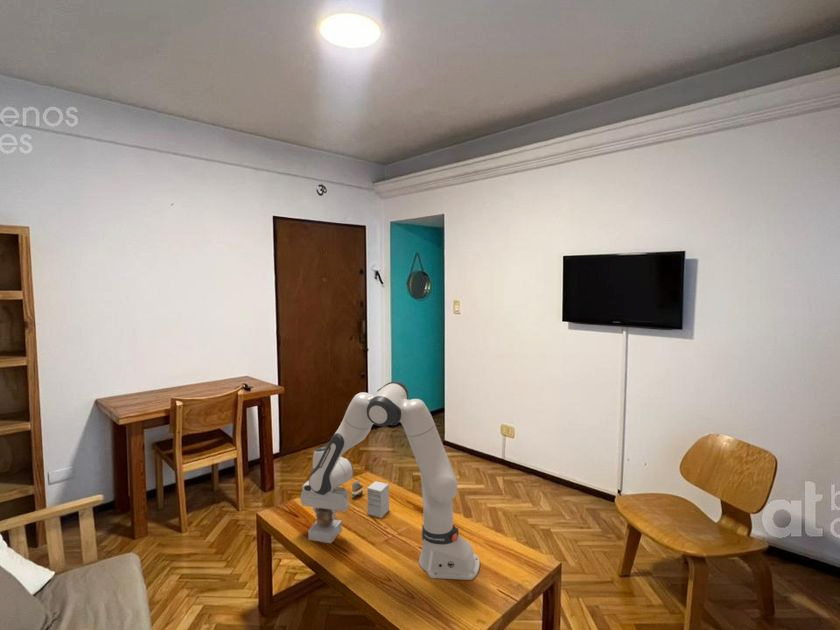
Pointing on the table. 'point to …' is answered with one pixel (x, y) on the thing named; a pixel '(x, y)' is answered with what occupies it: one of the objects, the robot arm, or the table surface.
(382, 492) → the supplement box
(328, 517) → the walnut block
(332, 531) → the plinth
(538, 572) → the table surface
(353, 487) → the architectural model
